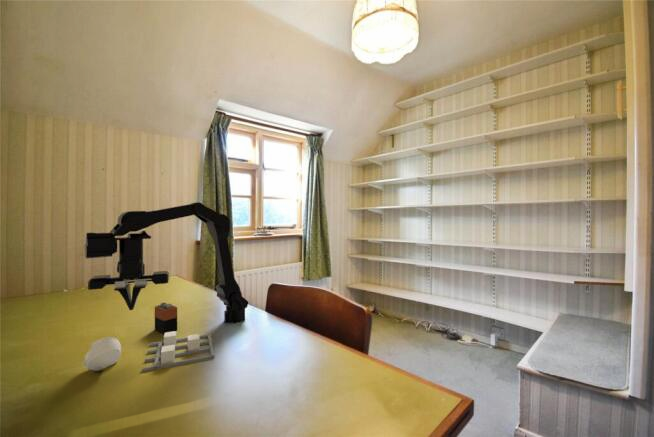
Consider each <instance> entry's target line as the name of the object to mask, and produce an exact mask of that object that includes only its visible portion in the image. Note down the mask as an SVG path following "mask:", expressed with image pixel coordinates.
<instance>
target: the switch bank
mask: <svg viewBox="0 0 654 437" xmlns="http://www.w3.org/2000/svg"><path fill="white" fill-rule="evenodd" d="M199 337H200V339H205V338H207V340H205V341H200V346H203V345H208V347H203V348H200V349H198V350H192V351H188V350H187V351H181V352H175V358H177V357H183V356H189V355H195V354H200V353H201V354H202V353H207V352H209V354H210V355H204V356H198V357H193V358H188V359H182V360H177V361H176V360H175V362H170V363H165V364H161V363H160V362H159V361H161V350H162V347H163V346H164V340H163V341H154V342H150V343H149V344H148V345H149V347H155V346H156V347H157V348H155V349H149V350H146V351H147V352H146V355H150V354H155V356H153V357H146V358H144V363H149V362H154V363H153V365H149V366H145V367H142V368H141V372H142V373H143V372H148V371H155V370H160V369H164V368H171V367H175V366H181V365H186V364H190V363H196V362H201V361H202V362H203V361H207V360H212V359H215V351H214V346H213V340H212V336H211V333H206V334H199ZM181 342H188V336H186V337H181V338H176V343H181ZM149 347H148V348H149ZM180 349H188V343H185V344H179V345H176V346H175V350H180ZM159 363H160V364H159Z"/></svg>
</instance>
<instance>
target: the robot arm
mask: <svg viewBox="0 0 654 437" xmlns="http://www.w3.org/2000/svg"><path fill="white" fill-rule="evenodd" d="M191 216H195V217H196V218H197V219H198V220H199V221H201V222H203V223H205V225H206V228H207V231H208V233H209V235H210V236H211V239H212V240H213V243H214V248H215V255H216V261H217V266H218V272H219V284H217V285H215V289H216V297H217V298H219V300H220V301H221V302H222V303H223V305H224V306H225V310H224V311H223V313H224V314H223V320H224V324H238V323H239V324H240V323H241V322H244V321H246V309H247V308H248V305H249V301H248V300H247V299H246V298H245V297H243V293H242V291H241V288H240V285H239V284H238V282H237V280H236V279H235V274H234V273H235V272H234V269H233V268H234V267H233V263H232V256H231V249H230V243H229V236H230V232H231V220H230V218H229V216H227V215H226V214H223V213H219V212H218V211H216V210H214V209H211V208H210V207H208V206H206V205H205V204H203V203H202V202H199V201H196V202H191V203H188V204H183V205H177V206H172V207H166V208H162V209H156V210H131V211H130V210H127V211H124V212H122V213H121V214H120V215H119V216H118V218H117V223H116V225H115V226H114V227H113V228H112V229H111V230H110V231H109V232H86V233H85V243H84V257H85V259H86V260H87V259H97V258H98V259H99V258H110V257H111V258H112V257H113V254H116V253H117V252H118V256H119V258H118V262H117V266H116V272H117V273H118V274H119V275H118V276H116V277H111V274H102V275H101V274H100V275H94V276H93V277H91V278H90V279H89V280H88V283H87V290H90V291H91V290H102V289H103V288H104V287H105V286H107V285H108V286H109V285H114V288H113V290H114V292H115V291H116V292H119V294H120V295H121V296H122V298H123V299H124V302H125V304H126V306H127V308H128V310H129V311H134V308H135V306H136V304H137V300H138V298H139V295H140V292H141V290H143V289H146V287H147V285H148V282H152V283H153V284H154V285H163V284H164V285H165V284H169V280H170V273H169V271H167V270H163V271H161V270H160V271H159V270H158V271H154V272H153V273H152V274H146V275H145V271H146V267H145V263H144V240H147V239H148V240H149V239H152V236H151V235H150V234H148V232H146V230H143V229H147V228H149V227H151V226H153V225H156V224H159V223H162V222H167V221H171V220H175V219H176V220H178V219H183V218H186V217H191ZM139 231H141V232H139ZM135 232H137V233H135ZM125 235H127V236H125ZM118 249H119V250H118ZM132 283H133V284H134V286H132V292H131V284H132Z"/></svg>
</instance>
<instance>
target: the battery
mask: <svg viewBox="0 0 654 437" xmlns="http://www.w3.org/2000/svg"><path fill="white" fill-rule="evenodd" d="M154 331H155V332H158V333H160V334H162V335H164V334H165V333H166V332H173V331H176V332H177V331H178V306H175V305H172V303H167V302H160V305H155V306H154Z"/></svg>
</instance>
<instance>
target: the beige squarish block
mask: <svg viewBox="0 0 654 437" xmlns="http://www.w3.org/2000/svg"><path fill="white" fill-rule="evenodd" d="M199 336H200V333H195V334H188V335H187V337H188V341H187V344H188V347H187V351H192V350H198V349H201V348H200V346H201V345H200V342H201V341H200V337H199Z"/></svg>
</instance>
